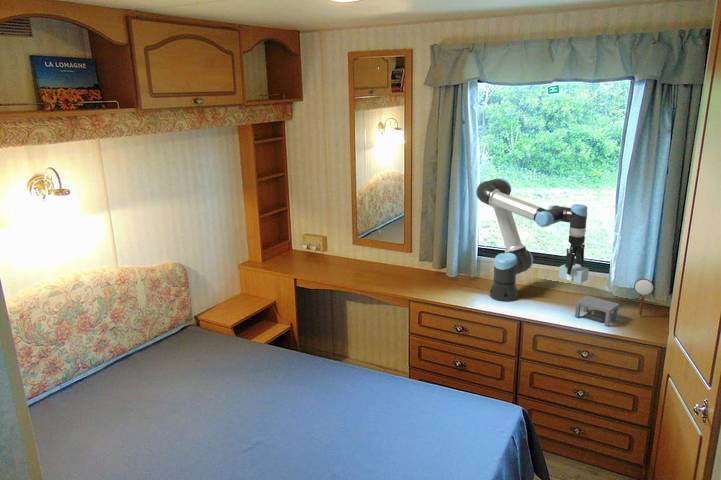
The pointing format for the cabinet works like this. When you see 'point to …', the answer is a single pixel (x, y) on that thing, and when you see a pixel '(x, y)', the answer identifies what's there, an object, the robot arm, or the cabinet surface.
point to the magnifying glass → (643, 290)
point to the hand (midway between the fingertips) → (573, 278)
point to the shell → (574, 273)
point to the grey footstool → (597, 308)
